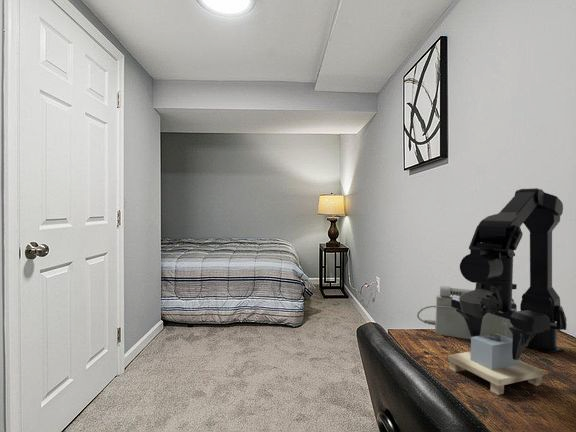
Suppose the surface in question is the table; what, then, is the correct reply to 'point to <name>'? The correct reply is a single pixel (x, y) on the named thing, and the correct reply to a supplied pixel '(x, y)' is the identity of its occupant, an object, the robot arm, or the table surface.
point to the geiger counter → (455, 323)
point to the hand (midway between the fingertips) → (494, 350)
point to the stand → (497, 372)
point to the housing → (492, 351)
